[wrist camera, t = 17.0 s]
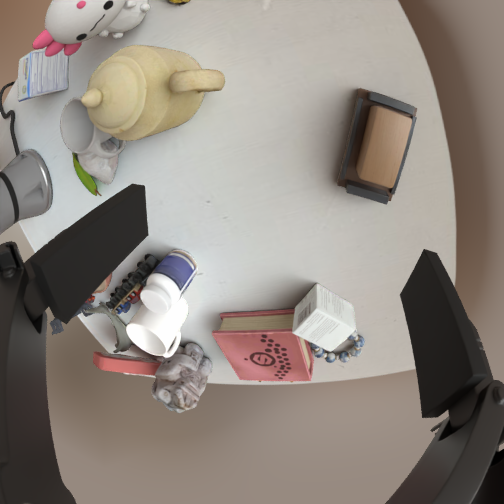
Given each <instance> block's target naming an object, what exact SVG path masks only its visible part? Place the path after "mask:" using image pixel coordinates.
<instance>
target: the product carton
mask: <svg viewBox="0 0 504 504" xmlns="http://www.w3.org/2000/svg"><path fill="white" fill-rule="evenodd" d="M356 329H357V328H356V321H355V314H354V307H353V304H351V303H350V302H348V301H346V300H345V299H343V298H341V297H340V296H338V295H336V294H335V293H333V292H331V291H330V290H328V289H326V288H325V287H323V286H322V285H320V284H318V283H317V284H315V285H314V287H313V288H312V289H311V290H310V291H309V293H308V294H307V295H306V296H305V297H304V298H303V299H302V300H301V302H300V303H299V304H298V305H297V306H296V307H295V312H294V321H293V329H292V333H293V334H295V335H297V336H299V337H301V338H303V339H305V340H307V341H309V342H311V343H313V344H315V345H317V346H319V347H321V348H323V349H325V350H327V351H329V352H331V351H332V350H333V349H335V348H336V347H337V346H338V345H340V344H341V343H343V342H344V341H345V340H346V339H347V338H348V337H349V336H350V335H351V334H352V333H353V332H354V331H355V330H356Z"/></svg>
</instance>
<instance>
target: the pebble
mask: <svg viewBox="0 0 504 504" xmlns="http://www.w3.org/2000/svg"><path fill="white" fill-rule="evenodd" d="M100 145H101V148H102V149H103V150H105V151H106V152H115V151H117V150H118V149H117V147H116V145H115V144H114V143H113V142H112V141H110V140H109V139H108V140H107V141H105V142H103V143H101V144H100ZM78 161H79V164H80V165H81V167H82V168H83V169H84V170H85V171H86V172H87V173H89V174H90V175H93V176H94V177H95V178H97V179H98V180H100V181H101V182H103V183H105V184H108V185H109V184H111V182H112V181H113V178H114V174H115V171H116V168H117V164H118V155H117V156H115V157H113V158H109V159H104V158H101V157H99V156H97V155H96V154H95V153H92V152H90V151H87V152H85V153H82V154H78Z"/></svg>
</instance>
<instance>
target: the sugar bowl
mask: <svg viewBox="0 0 504 504" xmlns="http://www.w3.org/2000/svg"><path fill="white" fill-rule="evenodd" d="M224 84H225V78H224V75H223V73H222V72H220V71H218V70H210V69H201V67H200V65H199V64H198V63H197V62H196V61H195V60H194V59H193V58H192V57H190V56H189V55H188V54H185V53H183V52H180V51H175V50H170V49H166V48H161V47H154V46H144V45H132V46H128V47H125V48H123V49H121V50H119V51H117V52H116V53H114V54H113V55H112V56H111V57H110V58H108V59H106V60H105V61H104V62H103V63H101V64H100V65H99V66H98V67H97V69H96V70H95V72H94V73H93V74H92V76H91V78H90V81H89V83H88V87H87V91H86V93H85V94H84V95H83V96H82V98H81V102H82V104H83V105H84V106H85V107H87V111H88V115H89V118H90V120H91V121H92V123H93V124H94V125H95V126H96V127H97V128H98V129H100V130H101V131H103V132H105V133H109V134H110V135H111V136H113V137H115V138H117V139H120V140H125V141H133V140H138V139H141V138H144V137H147V136H151V135H154V134H157V133H160V132H162V131H165V130H168V129H171V128H174V127H176V126H179V125H181V124H183V123H185V122H186V121H188V120H189V119H190V118H191V117H192V116H193V115H194V114H195V113H196V112H197V110H198V109H199V107H200V105H201V103H202V100H203V97H204V93H205V92H210V91H219V90H222V88H223V87H224Z"/></svg>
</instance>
